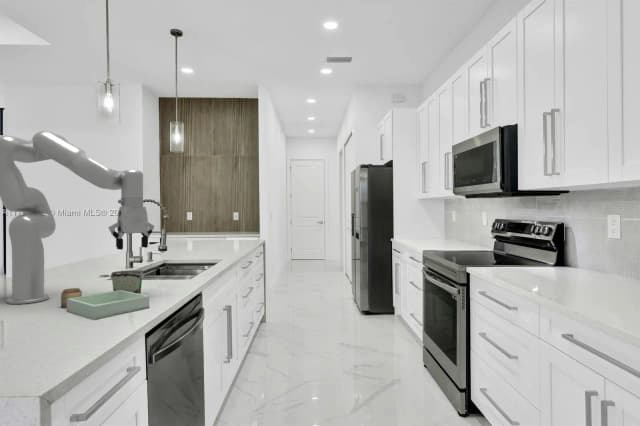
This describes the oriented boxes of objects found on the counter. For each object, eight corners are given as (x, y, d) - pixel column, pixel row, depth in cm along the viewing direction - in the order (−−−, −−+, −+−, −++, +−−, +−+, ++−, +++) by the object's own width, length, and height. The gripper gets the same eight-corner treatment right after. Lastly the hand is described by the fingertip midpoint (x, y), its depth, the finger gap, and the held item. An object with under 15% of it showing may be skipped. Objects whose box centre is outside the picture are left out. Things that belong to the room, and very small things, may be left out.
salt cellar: (57, 306, 136) (57, 290, 136) (76, 303, 141) (76, 287, 141) (66, 309, 133) (66, 292, 133) (84, 305, 138) (84, 289, 138)
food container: (150, 296, 153) (150, 270, 153) (141, 300, 147) (141, 272, 147) (120, 295, 154) (120, 269, 154) (110, 299, 148) (110, 272, 148)
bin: (66, 311, 131) (66, 298, 130) (120, 300, 145) (120, 289, 145) (94, 319, 120) (94, 306, 120) (149, 307, 135) (149, 296, 135)
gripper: (114, 202, 141) (114, 250, 141) (158, 203, 155) (159, 247, 155) (104, 202, 145) (104, 249, 146) (148, 203, 160) (148, 246, 160)
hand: (132, 248), depth 150 cm, fingers open, 9 cm apart
